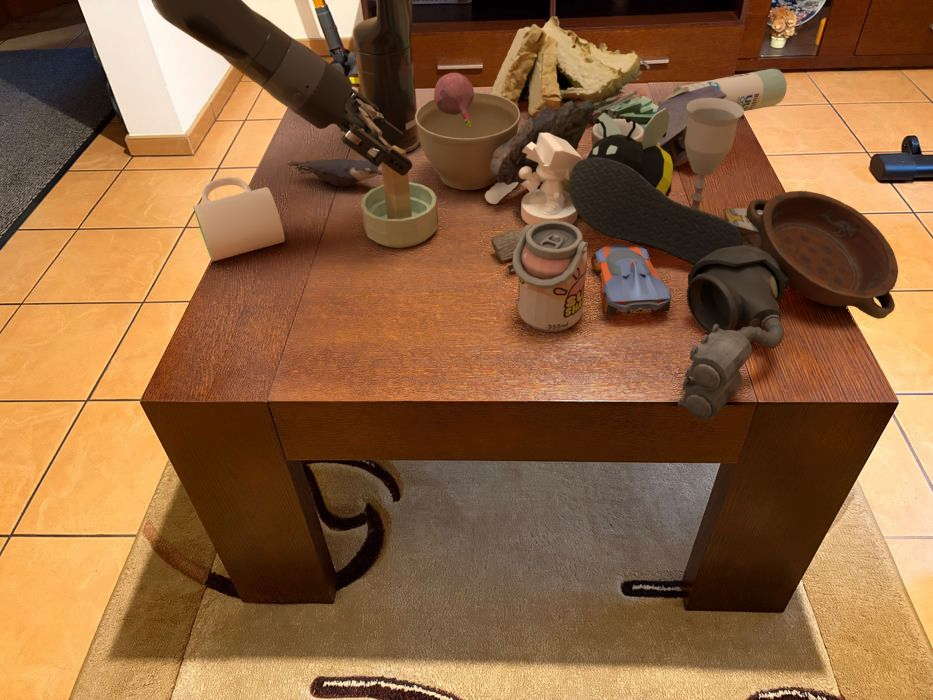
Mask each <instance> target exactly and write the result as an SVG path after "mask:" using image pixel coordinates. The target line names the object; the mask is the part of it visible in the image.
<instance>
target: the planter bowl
mask: <svg viewBox="0 0 933 700" xmlns="http://www.w3.org/2000/svg"><path fill="white" fill-rule="evenodd" d="M490 93H491V92H490ZM490 93H489V92H483V91H482V92H481V91H479V92H478V91H474V97H473V100H472V103H471V105H470V106H469V107H468V113H469V116H470V121H471V128H469V127H468V126H467V124H465V120H464V118H463V116H462V114H461V113H460V114H456V115H451V114H446V113H444V112H442V111H441V110H440V109H439V108H438V107H437V105H436V103H435V100H434V97H432V98H431V99H429V100H427V101H425V102H424V103H423V104H421V105H420V106H419V108H417V112H416V115H415V121H416V125H417V128H418V134H419V139H420V143H419V144H420V146H421V148H422V151H423V153H424V156H425V157H426V159H427V161H428V162H429V164H430V165H431V167H432V168H433V169H434V170H435V171H436V172H437V173H438V174H439V177H440V180H441V182H442V183H443V184H445V185H446V186H448V187H450V188H452V189H456V190H462V191H475V190H480V189H485V188H488V187H489V186H491V185H493V184H495V182H496V181H497V179H496V177H495V176H493V174H492V172H491V169H490V165H491V161H492V159H493V154H494V152H495V150H496V149H497V148H499V147H500V146H501V145H503V144H505V143H507V142H508V141H510V140H511V139H512V138H514V137H515V136H516V135H517V133H518V132H519V124H520V120H521V118H520V117H521V111H520V109H519V106H518V107H517V106H516V105H515V104H514V103H513V102H511V101H510V100H508V99H506V98H504V97H501V96H498V95H494V94H490Z"/></svg>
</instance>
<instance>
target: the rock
mask: <svg viewBox="0 0 933 700" xmlns="http://www.w3.org/2000/svg"><path fill="white" fill-rule="evenodd" d="M593 104H594V102H592V101H590V100H588V101H586V102H583V101H581V102H574V103H573V102H571V101H570V102H567V103H563V104H562V105H561V106H559V108H558V109H554V110H552V109H550V108H549V107H548V106H545V107H544V108H543V109H542V110H541V111H540V112H539V114H538V115H537V117H535V118H532V119H531V118H530V119H527V120H526V121H525V123H524V124H523V126H522V127H521V128H520V129H518V132H517V135H516V136H515V137H514V138H512V139H511V140H510V141H508V142H507V143H505V144H503V145H501V146H500V147H499V148H497V149H496V150H495V152H494V154H493V159H492V161H491V165H490V169H491V172H492V174H493V176H495V177H496V179H497V180H496V181H497V183H505V184H506V185H509V184H511V183H515V182H519V183H521V184H522V183H523V182H524V181H525V180H526V179H521V178H520V177H519V171H520V169H521V168H523V167H525V166H528V167H530V168H531V169H532V173H534V172H536V168H537V166H538V165H539V164H538V162H535V161H533V160H531V159H528V158H526V156H527V154H526V153H523V152H522V151H523V149H524V148H525V147H526V146H527V145H528V144H529V143H530V142H533V143H534V144H536V143H537V140H538V136H539V133H550V134H552V135H554V136H556V137H559V138H561V139H563V140H566V141H567V142H568V143H569V144H570V145H571V146H572V147H573V148H574V149H575V150H576V151H577V149H578V147H579V145H580V142H581V140H582V138H583V135H584V133H585V131H586V129H587V128H588V127H587V126H588V124H590V122H591V120H592V119H593V113H594V110H595V107H594V105H593ZM536 173H537V172H536Z"/></svg>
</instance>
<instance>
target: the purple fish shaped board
mask: <svg viewBox="0 0 933 700" xmlns="http://www.w3.org/2000/svg"><path fill="white" fill-rule="evenodd" d="M725 97H727V95H726V94H725V93H723V92H722V91H720V90H719V89H717V88H715V87H713V86H707V87H704V88H700V89H696V90H693V91H689V88H688V87H684V88H682V89H680V90H678V91H676V92H674V93H673V92H672V93H671V94H669V95H667V96H666V97H664V98H663V99H661V100H660V101H658V106H659V107H658V109H657V111H656V113H657V112H659V111H661V110H663V109H664V108H666V109H667V112H668V114H669V116H670V119H669V124H668V129H667V131H666V133H665V134H664V135H663V137H662V138H661V139H660V141H659V144H660V146H662V145H663V144H664V143H666V142H667V141H669V144H670V147H671V150H672V151H671V153H672V156H673V159H674V162H673V166H674V167H675V168H677V167H679V166H682V165H683V164H685V163H687V162H689V159H688V157H687V153H686V149H683V148H682V147H681V146H680V144H679V142H678V138H679V137H682V139H683V142H684V145H685V136H686V130H687V125H688V119H689V114H688V111H687V104H688V103H689V102H690V101H693V100H695V99H700V98H719V99H724V98H725ZM685 148H686V147H685Z"/></svg>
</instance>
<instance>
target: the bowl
mask: <svg viewBox="0 0 933 700" xmlns="http://www.w3.org/2000/svg"><path fill="white" fill-rule="evenodd" d="M409 190H410V201H411V211H412V217H408V218H403V219H388V217H387V209H386V200H385V192H384V184H381V185H378V186H376V187H373V188H372V189H370V190H369V191H368V192H367V193H365V194H364V195H363V196H362V198H361V201H360V211H361V218H362V225H363V230H364V232H365V235H366V236H367V238H369V239H370V240H372V241H373V242H375V243H376V244H378V245H380V246H383V247H387V248H395V249H402V248H410V247H413V246H414V247H415V246H417V245H419V244H421V243H423V242H425V241H427V240H428V239H429V238H431V237H432V236H433V235H434V234H435V232H436V231H437V230H438V225H439V216H438V213H439V212H438V198H437V196H436V194H435V192H434V190H432V189H431V188H430V187H427V186H426V185H425V184H421V183H417V182H413V181H409Z"/></svg>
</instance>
